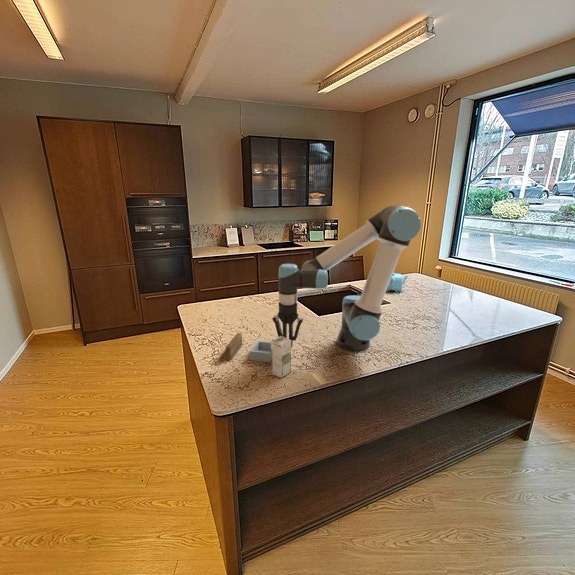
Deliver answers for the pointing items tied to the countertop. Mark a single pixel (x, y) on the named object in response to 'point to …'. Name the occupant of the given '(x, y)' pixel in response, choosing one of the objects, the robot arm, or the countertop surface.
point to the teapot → (396, 282)
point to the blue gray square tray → (261, 351)
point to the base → (232, 347)
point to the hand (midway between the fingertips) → (287, 353)
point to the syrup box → (281, 356)
